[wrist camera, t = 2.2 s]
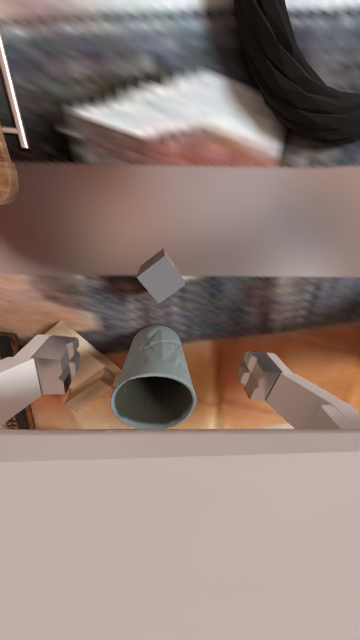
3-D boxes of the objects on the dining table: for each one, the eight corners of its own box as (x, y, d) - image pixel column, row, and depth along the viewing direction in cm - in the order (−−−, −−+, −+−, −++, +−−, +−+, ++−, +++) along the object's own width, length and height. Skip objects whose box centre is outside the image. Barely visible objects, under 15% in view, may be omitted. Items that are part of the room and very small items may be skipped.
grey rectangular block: (180, 272, 27) (185, 284, 22) (158, 288, 28) (158, 303, 23) (163, 248, 25) (164, 255, 20) (140, 266, 26) (136, 277, 21)
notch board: (124, 372, 35) (120, 394, 30) (93, 392, 36) (85, 416, 32) (60, 320, 29) (43, 338, 24) (26, 347, 30) (4, 368, 26)
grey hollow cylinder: (194, 351, 34) (210, 409, 24) (149, 376, 36) (146, 441, 25) (162, 309, 30) (165, 358, 19) (113, 341, 31) (90, 402, 21)
